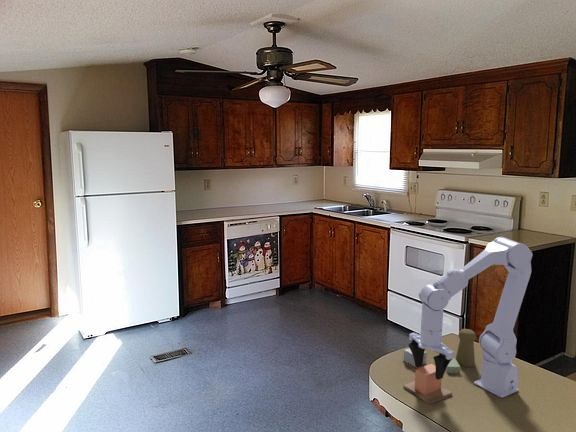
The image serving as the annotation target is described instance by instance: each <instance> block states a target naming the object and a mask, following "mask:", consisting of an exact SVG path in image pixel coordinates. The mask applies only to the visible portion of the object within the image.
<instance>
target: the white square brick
mask: <svg viewBox="0 0 576 432" xmlns="http://www.w3.org/2000/svg"><path fill="white" fill-rule="evenodd" d="M404 361H405V362H404ZM403 362H404V363H406V362H407V363H406V364H408V363H409V364H408V365H410V364H411V365H410V366H412V367H414V368H416V367H415V362H414V358H413V355H412V352H411V350H410V348H409V347H408V348H406V349H404V350H403ZM423 365H427V351H426V350H425V351H424V356H423Z"/></svg>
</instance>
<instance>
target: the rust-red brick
mask: <svg viewBox="0 0 576 432" xmlns="http://www.w3.org/2000/svg"><path fill="white" fill-rule="evenodd" d="M414 381H415V389H416V390H418V391H419V392H421V393H423V394H424V395H427V394H429V393H432V392H434V391H437V390H439V389H441V386H442V379H439V380H437V379H436V367H435V364H433V363H430V364H425V365H424V366H423V365H422V367H419V368H415V375H414Z"/></svg>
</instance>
